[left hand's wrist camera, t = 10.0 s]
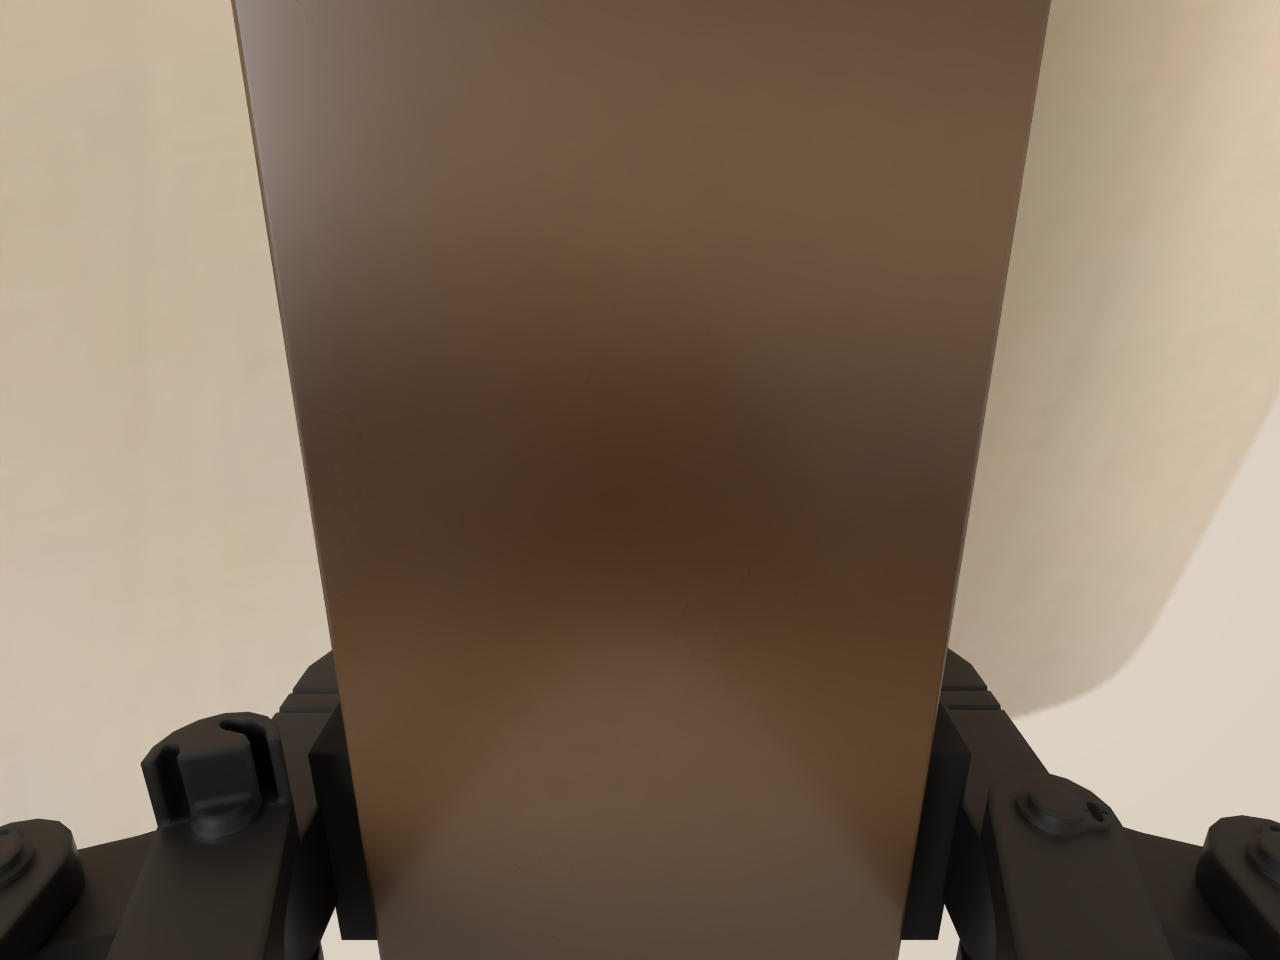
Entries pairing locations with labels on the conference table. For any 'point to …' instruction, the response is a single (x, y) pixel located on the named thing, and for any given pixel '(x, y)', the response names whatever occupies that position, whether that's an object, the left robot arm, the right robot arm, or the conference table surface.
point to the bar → (640, 443)
